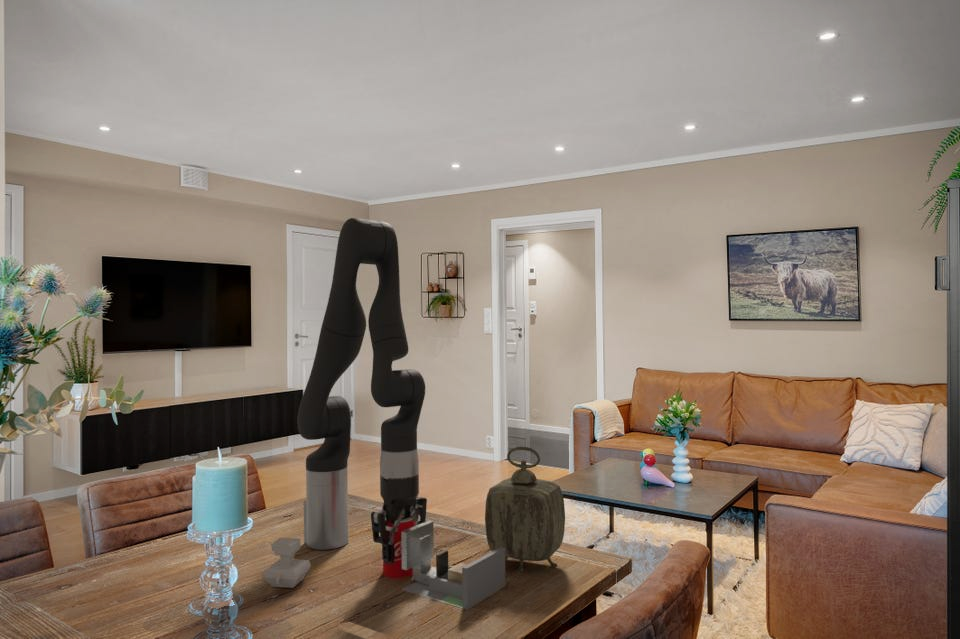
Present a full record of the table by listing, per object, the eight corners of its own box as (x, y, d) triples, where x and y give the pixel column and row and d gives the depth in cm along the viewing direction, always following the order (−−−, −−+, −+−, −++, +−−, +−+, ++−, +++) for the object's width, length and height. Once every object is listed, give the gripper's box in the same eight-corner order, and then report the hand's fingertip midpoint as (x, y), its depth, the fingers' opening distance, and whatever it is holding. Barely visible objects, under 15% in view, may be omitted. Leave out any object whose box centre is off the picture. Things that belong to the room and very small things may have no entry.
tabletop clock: (565, 569, 131) (564, 445, 131) (551, 586, 123) (549, 454, 123) (499, 559, 138) (498, 440, 138) (481, 574, 129) (480, 448, 129)
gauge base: (401, 596, 120) (400, 551, 120) (441, 574, 130) (441, 533, 130) (467, 616, 111) (466, 568, 111) (505, 591, 121) (505, 547, 121)
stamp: (293, 595, 121) (292, 549, 121) (260, 593, 122) (259, 548, 122) (313, 576, 130) (313, 533, 130) (282, 574, 131) (282, 532, 131)
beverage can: (408, 585, 125) (409, 523, 124) (378, 582, 126) (379, 520, 126) (418, 572, 131) (419, 513, 130) (389, 569, 132) (390, 510, 132)
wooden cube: (448, 591, 119) (447, 569, 119) (461, 584, 122) (460, 562, 122) (465, 596, 116) (465, 574, 116) (478, 589, 120) (478, 567, 120)
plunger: (402, 583, 122) (401, 531, 122) (429, 569, 129) (428, 520, 129) (431, 591, 118) (430, 538, 118) (457, 577, 125) (456, 526, 125)
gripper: (409, 462, 136) (410, 543, 136) (359, 477, 124) (360, 565, 124) (437, 467, 132) (438, 550, 132) (388, 482, 120) (389, 573, 120)
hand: (400, 557), depth 128 cm, fingers closed on beverage can, 6 cm apart
